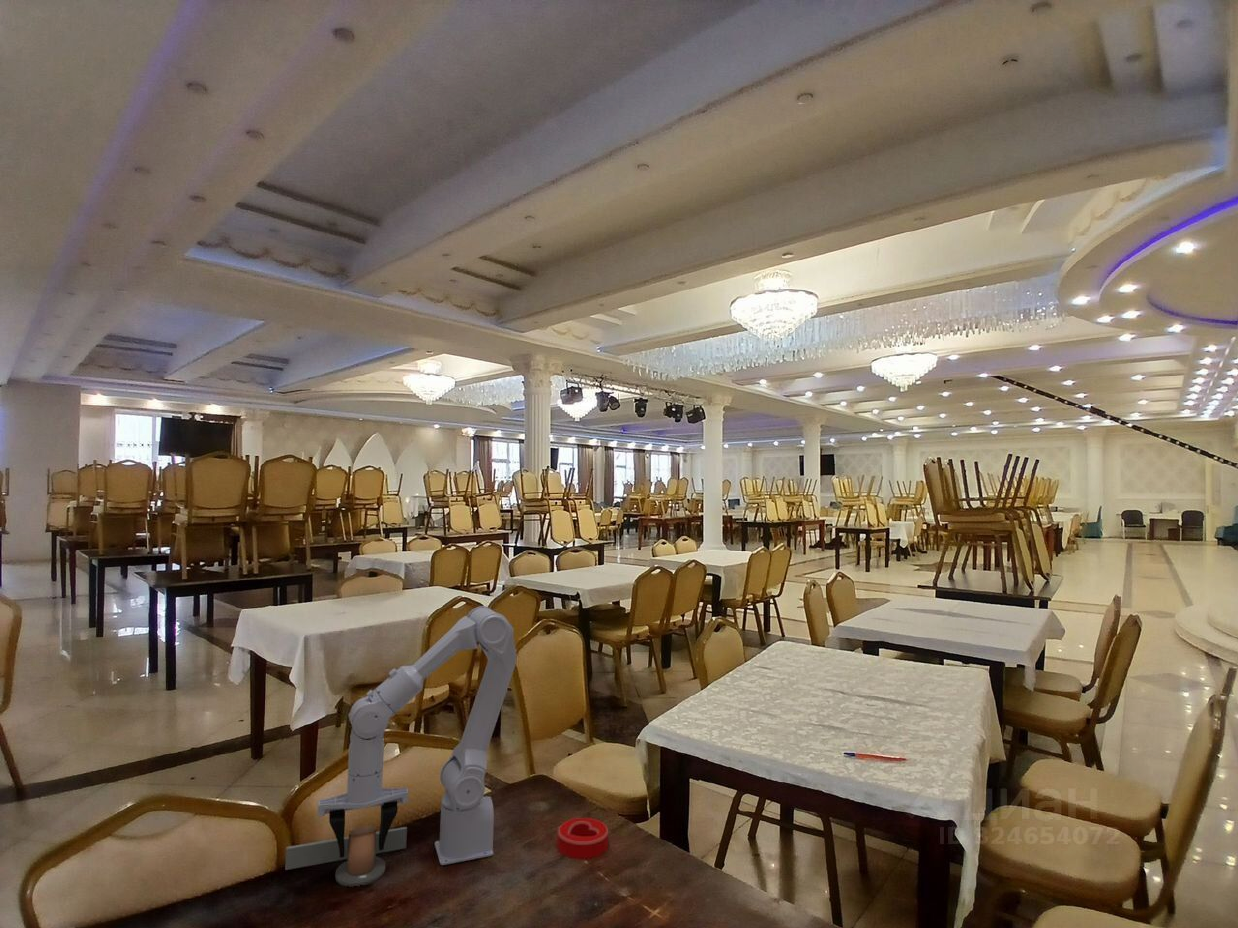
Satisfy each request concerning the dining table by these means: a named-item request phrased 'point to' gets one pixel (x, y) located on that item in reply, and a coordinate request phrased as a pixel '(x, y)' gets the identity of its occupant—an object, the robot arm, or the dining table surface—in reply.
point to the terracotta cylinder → (361, 850)
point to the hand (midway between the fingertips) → (361, 850)
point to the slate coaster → (357, 880)
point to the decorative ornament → (582, 838)
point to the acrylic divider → (337, 849)
